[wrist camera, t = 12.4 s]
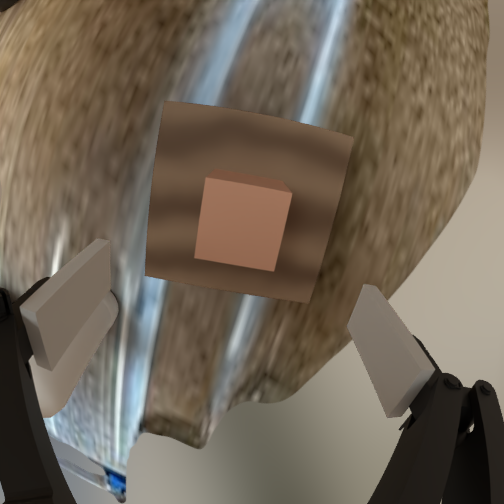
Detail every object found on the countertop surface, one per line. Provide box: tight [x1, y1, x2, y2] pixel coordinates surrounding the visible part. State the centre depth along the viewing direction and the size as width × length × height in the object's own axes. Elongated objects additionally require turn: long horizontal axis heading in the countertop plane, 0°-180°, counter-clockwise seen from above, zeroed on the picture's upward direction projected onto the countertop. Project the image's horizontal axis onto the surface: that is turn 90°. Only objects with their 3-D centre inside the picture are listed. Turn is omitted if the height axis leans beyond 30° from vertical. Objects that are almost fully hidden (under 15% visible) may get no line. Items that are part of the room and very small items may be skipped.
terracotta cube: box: [194, 169, 292, 271], centre depth 27 cm, size 7×7×7 cm
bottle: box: [29, 290, 119, 418], centre depth 28 cm, size 8×8×30 cm
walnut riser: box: [145, 101, 354, 303], centre depth 34 cm, size 20×20×6 cm
